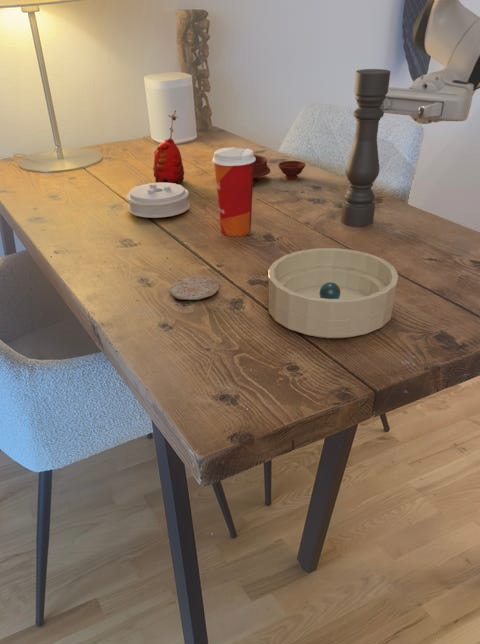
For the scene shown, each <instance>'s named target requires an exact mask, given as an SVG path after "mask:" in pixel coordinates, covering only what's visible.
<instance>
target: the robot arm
mask: <svg viewBox="0 0 480 644" xmlns="http://www.w3.org/2000/svg"><path fill="white" fill-rule="evenodd" d="M412 39H413V44H414V48H415V49H416V50H418V51H419V52H421V53H423V54H425V55H426V56H428V57H431V58H432V59H433V60H435V61H436V62H438V63H439V64H440V65H442V66H443V67H444V68H443V69H440V70H438V71H433V72H429V73H426V74H423V75H421V76H418V77H417V78H416V79H414V81H413V82H412V83H411V84H410V86H409V87H408V88H406V87H394V86H391V87H388V93H387V94H386V98H385V100H384V101H383V103H382V105H381V107H380V108H381V110H382V111H383V112H384V114H391V115H402V116H409V118H411V119H412V120H413V121H414V122H415V123H418V124H421V125H428V124H432V123H439V122H465V121H467V119H468V117H469V114H470V111H471V107H472V102H473V96H474V94H475V93H476V91H477V90H479V89H480V16H479V15H477V14H476V13H474V12H473V11H471V9H469V8H467V7H465V5H463V4H462V2H461V1H460V0H426V2H425V4H424V5H423V7H422V8H421V10H420V12H419V14H418V16H417V17H416V20H415V21H414V24H413V26H412Z"/></svg>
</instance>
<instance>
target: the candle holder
mask: <svg viewBox="0 0 480 644" xmlns="http://www.w3.org/2000/svg"><path fill="white" fill-rule="evenodd" d="M354 77H355V78H354V88H353V89H354V91H353V93H354V94H355V97H354V98H355V101H356V105H357V108H356V109H355V110H354V111H353V117H354V118H355V121H356V124H355V135H354V141H353V144H352V147H351V151H350V153H349V157H348V160H347V163H346V166H345V175H346V178H347V180H348V182H349V183H348V186H349V188H348V190H347V191H346V192H345V194H344V199H345V200H344V201H343V202H342V205H341V215H340V218H341V219H340V222H341V223H342V224H343V225H346V226H348V227H355V228H358V227H360V228H361V227H368V226H370V225H372V224H373V223H374V216H375V210H376V203H375V202H374V200H375V198H376V195H375V193H374V191H373V190H372V187H373V186H374V182H375V181H376V180H377V178H378V177H379V175H380V161H379V159H380V158H379V148H378V133H379V125H380V124H379V123H380V121H381V119H382V118H383V117H384V115H385V113H384V112H383V111H382V110H381V108H380V107H381V105H382V103H383V101H384V100H385V98H386V94H387V93H388V87H389V85H390V79H391V70H390V69H389V70H388V69H382V68H381V69H380V68H363V69H358V70H356V71H355V76H354Z"/></svg>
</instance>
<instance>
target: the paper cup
mask: <svg viewBox="0 0 480 644" xmlns="http://www.w3.org/2000/svg"><path fill="white" fill-rule="evenodd" d="M254 155H255V154H254V151H253V150H252V149H251V148H245V147H236V146H233V147H231V146H230V147H223V148H218V149H217V150H215V151H214V153H213V158H212V160H211V161H212V163H213V165H214V174H215V175H214V177H215V184H216V185H215V186H216V196H217V206H218V216H219V224H220V232H221V234H222V235H224V236H227V237H243V236H246V235H249V234H250V232H251V229H252V228H251V226H252V210H253V191H254V190H253V189H254V183H253V169H254V161H255V160H256V159H255V157H254Z"/></svg>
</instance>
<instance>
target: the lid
mask: <svg viewBox="0 0 480 644" xmlns="http://www.w3.org/2000/svg"><path fill="white" fill-rule="evenodd" d="M189 195H190V194H189V190H187V188H185V187H184V186H183V185H181V184H179V183H177V184H174V183H163V182H161V183H157V182H149V183H143V184H140V185H137V186H134V187H133V188H131V189H130V191H129V192H127V194H126V195H125V196H126V200H127V201H128V206H127V210H128V213H130V214H132V215H134V216H136V217H141V218H150V219H151V218H153V219H155V218H156V219H157V218H159V219H160V218H167V217H174V216H177V215H180V214H182V213H185V212H186V211H188V210H189V209H190V206H191V205H190V202H189Z"/></svg>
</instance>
